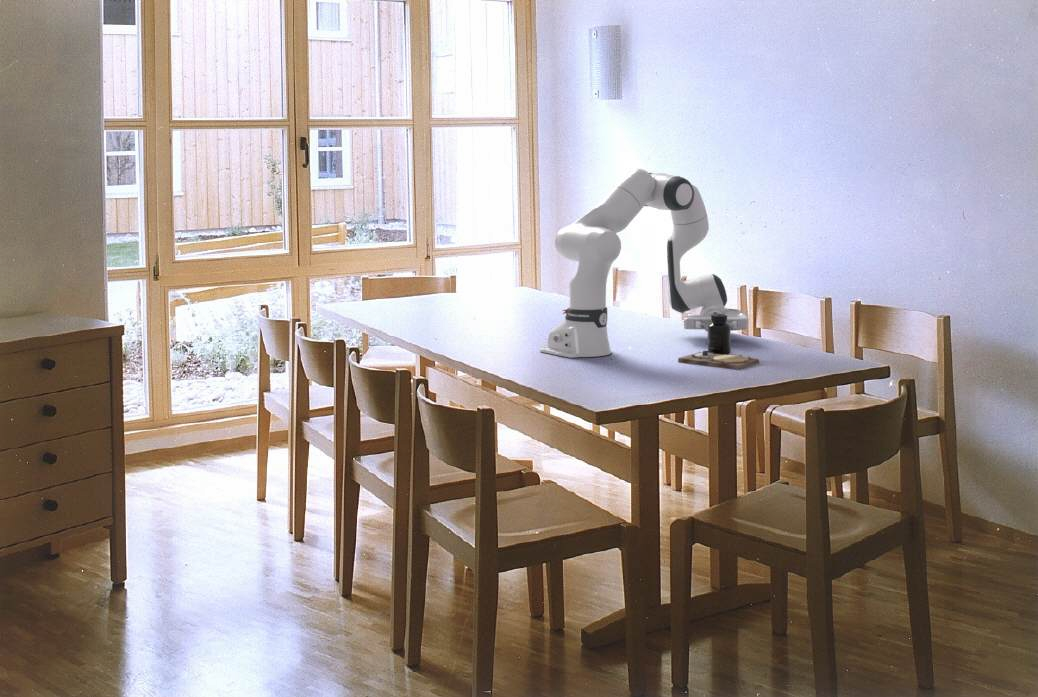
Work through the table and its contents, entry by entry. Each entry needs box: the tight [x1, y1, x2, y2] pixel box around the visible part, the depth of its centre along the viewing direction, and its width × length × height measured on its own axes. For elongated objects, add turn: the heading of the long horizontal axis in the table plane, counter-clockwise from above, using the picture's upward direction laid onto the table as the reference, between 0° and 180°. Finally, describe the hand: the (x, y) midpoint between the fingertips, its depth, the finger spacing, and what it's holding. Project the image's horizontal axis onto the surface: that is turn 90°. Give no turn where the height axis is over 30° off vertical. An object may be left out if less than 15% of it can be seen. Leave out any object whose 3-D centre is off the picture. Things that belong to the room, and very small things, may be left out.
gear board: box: [677, 349, 760, 371], centre depth 354 cm, size 20×12×3 cm, turn 50°
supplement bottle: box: [707, 314, 732, 355], centre depth 367 cm, size 7×7×12 cm
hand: (716, 326), depth 378 cm, fingers open, 8 cm apart
